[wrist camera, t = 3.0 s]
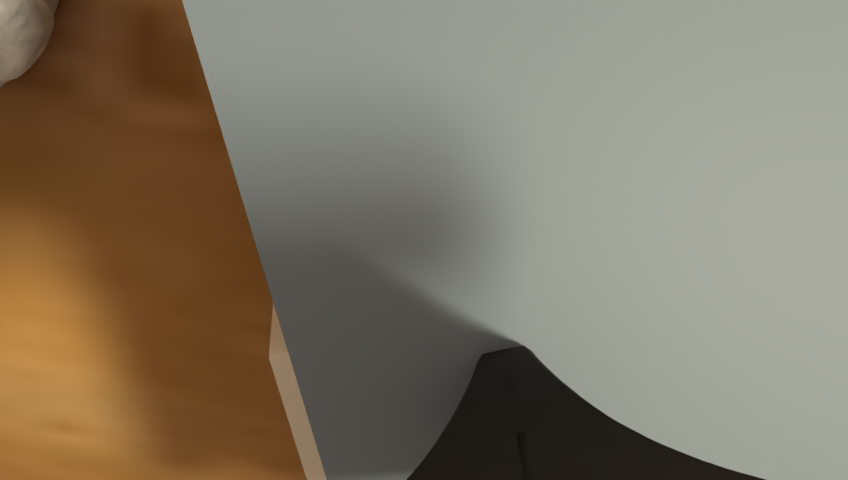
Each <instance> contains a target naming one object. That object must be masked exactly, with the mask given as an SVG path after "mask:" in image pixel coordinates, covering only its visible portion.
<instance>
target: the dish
mask: <svg viewBox="0 0 848 480" xmlns="http://www.w3.org/2000/svg"><path fill="white" fill-rule="evenodd" d="M58 3H59V0H0V88H1V87H2V86H3V85H5V84H6V83H7V82H8V81H10V80H13V79H16V78H18V77H19V76H21V75H22V74H24V73H25V72H26V71H27V70H28V69H29V68H30V67H31V66H33V65H34V63H35V62H36V61H37V60H38V58H39V57H40V56H41V55H42V53H43V52H44V51H45V49H46V47H47V45H48V42H49V40H50V37H51V34H52V31H53V28H54V21H55V20H54V17H53V16H54V14H55V11H56V8H57V6H58Z"/></svg>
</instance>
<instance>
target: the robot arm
mask: <svg viewBox="0 0 848 480" xmlns="http://www.w3.org/2000/svg"><path fill="white" fill-rule="evenodd" d="M406 480H765V479H762V478H758V477H755V476H751V475H748V474H744V473H740V472H737V471H733V470H730V469H727V468H724V467H721V466H718V465H715V464H712V463H709V462H706V461H703V460H700V459H697V458H695V457H692V456H690V455H687V454H685V453H682V452H680V451H677V450H675V449H672V448H670V447H667V446H665V445H663V444H660V443H658V442H656V441H654V440H652V439H649V438H647V437H645V436H644V435H642V434H640V433H638V432H636V431H634V430H632V429H630V428H628V427H626V426H625V425H623V424H621V423H619V422H617V421H616V420H614V419H612V418H610V417H609V416H607V415H606V414H604V413H603V412H602V411H600V410H599V409H597V408H596V407H594V406H593V405H591V404H590V403H589V402H587V401H586V400H585V399H583V398H582V397H581V396H579V395H578V394H577V393H576V392H575V391H573V390H572V389H571V388H570V387H568V386H567V385H566V384H565V383H564V382H562V381H561V380H560V379H559V378H558V377H557V376H555V375H554V374H553V373H552V372H551V371H550V370H549V369H548V368H547V367H546V366H545V365H544V364H543V363H542V362H541V361H540V360H539V359H538V358H537V357H536V356H535V354H534V353H533V352H532V351H531V350H530V349H528V348H527V347H525V346H519V347H514V348H508V349H503V350H499V351H494V352H490V353H486V354H482V356H481V357H480V359H479V360H478V361H477V364H476V367H475V370H474V373H473V375H472V378H471V380H470V382H469V384H468V387H467V389H466V391H465V393H464V395H463V397H462V399H461V401H460V403H459V404H458V406H457V408H456V410H455V412H454V414H453V416H452V417H451V419H450V421H449V422H448V424H447V425H446V427H445V429H444V430H443V432H442V433H441V435H440V436H439V438H438V440H437V441H436V443H435V444H434V446H433V447H432V448H431V450H430V451H429V453H428V454H427V455H426V457H425V458H424V459H423V461H422V462H421V463H420V464H419V466H418V467H417V468H416V469H415V470H414V471H413V473H412V474H411V475H410V476H409V477H408V478H407V479H406Z"/></svg>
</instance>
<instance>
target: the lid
mask: <svg viewBox="0 0 848 480" xmlns="http://www.w3.org/2000/svg"><path fill="white" fill-rule="evenodd" d="M182 2H183V6H184V9H185V12H186V16H187V19H188V22H189V25H190V29H191V32H192V35H193V39H194V42H195V45H196V49H197V52H198V55H199V59H200V62H201V65H202V69H203V72H204V75H205V78H206V82H207V85H208V88H209V92H210V95H211V98H212V102H213V105H214V108H215V112H216V115H217V118H218V122H219V125H220V128H221V131H222V135H223V138H224V141H225V145H226V148H227V151H228V155H229V158H230V161H231V165H232V168H233V171H234V175H235V178H236V181H237V184H238V188H239V191H240V194H241V198H242V201H243V204H244V208H245V211H246V214H247V218H248V221H249V224H250V228H251V231H252V234H253V237H254V241H255V244H256V247H257V251H258V254H259V257H260V261H261V264H262V267H263V271H264V274H265V277H266V281H267V284H268V287H269V290H270V294H271V297H272V300H273V310H272V322H271V334H270V347H269V360H270V363H271V367H272V370H273V373H274V376H275V379H276V383H277V386H278V389H279V392H280V395H281V399H282V402H283V405H284V408H285V412H286V415H287V418H288V421H289V424H290V428H291V431H292V434H293V437H294V440H295V444H296V447H297V450H298V453H299V456H300V460H301V463H302V466H303V469H304V473H305V476H306V479H307V480H406V479H407V478H408V477H409V476H410V475H411V474H412V473H413V471H414V470H415V469H416V468H417V467H418V466H419V464H420V463H421V462H422V461H423V459H424V458H425V457H426V455H427V454H428V453H429V451H430V450H431V448H432V447H433V446H434V444H435V443H436V441H437V440H438V438H439V436H440V435H441V433H442V432H443V430H444V429H445V427H446V425H447V424H448V422H449V421H450V419H451V417H452V416H453V414H454V412H455V410H456V408H457V406H458V404H459V403H460V401H461V399H462V397H463V395H464V393H465V391H466V389H467V387H468V384H469V382H470V380H471V378H472V375H473V373H474V370H475V367H476V364H477V361H478V360H479V359H480V357H481V356H482V354H486V353H490V352H494V351H499V350H503V349H508V348H514V347H519V346H525V347H527V348H528V349H530V350H531V351H532V352H533V353H534V354H535V356H536V357H537V358H538V359H539V360H540V361H541V362H542V363H543V364H544V365H545V366H546V367H547V368H548V369H549V370H550V371H551V372H552V373H553V374H554V375H555V376H557V377H558V378H559V379H560V380H561V381H562V382H564V383H565V384H566V385H567V386H568V387H570V388H571V389H572V390H573V391H575V392H576V393H577V394H578V395H579V396H581V397H582V398H583V399H585V400H586V401H587V402H589V403H590V404H591V405H593V406H594V407H596V408H597V409H599V410H600V411H602V412H603V413H604V414H606V415H607V416H609V417H610V418H612V419H614V420H616V421H617V422H619V423H621V424H623V425H625V426H626V427H628V428H630V429H632V430H634V431H636V432H638V433H640V434H642V435H644V436H645V437H647V438H649V439H652V440H654V441H656V442H658V443H660V444H663V445H665V446H667V447H670V448H672V449H675V450H677V451H680V452H682V453H685V454H687V455H690V456H692V457H695V458H697V459H700V460H703V461H706V462H709V463H712V464H715V465H718V466H721V467H724V468H727V469H730V470H733V471H737V472H740V473H744V474H748V475H751V476H755V477H758V478H762V479H765V480H848V0H182Z"/></svg>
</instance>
